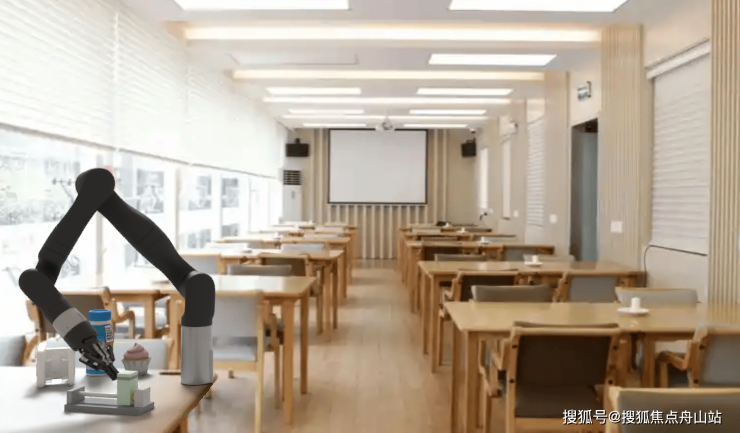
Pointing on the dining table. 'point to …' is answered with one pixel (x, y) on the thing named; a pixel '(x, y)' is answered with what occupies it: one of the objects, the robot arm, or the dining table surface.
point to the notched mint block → (126, 386)
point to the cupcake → (136, 359)
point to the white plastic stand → (54, 364)
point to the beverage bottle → (101, 333)
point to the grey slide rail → (107, 402)
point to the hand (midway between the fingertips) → (117, 378)
